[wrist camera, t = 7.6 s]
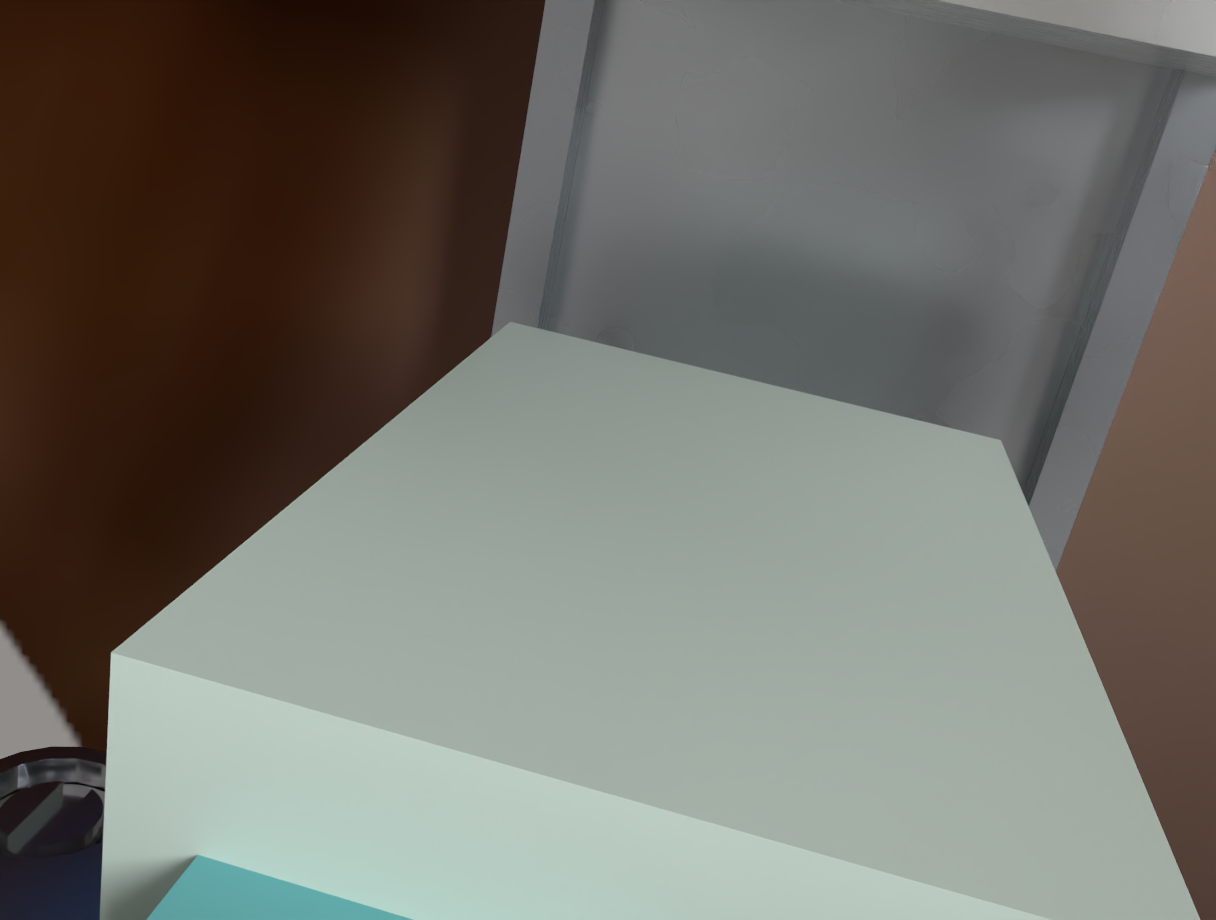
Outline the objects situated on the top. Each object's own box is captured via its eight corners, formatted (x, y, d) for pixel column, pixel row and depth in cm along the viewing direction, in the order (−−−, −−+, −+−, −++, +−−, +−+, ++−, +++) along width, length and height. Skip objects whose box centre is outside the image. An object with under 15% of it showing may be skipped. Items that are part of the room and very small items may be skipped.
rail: (1375, -397, 13) (1791, -757, 7) (812, 1143, 21) (794, 1536, 16) (662, -507, 14) (521, -901, 8) (403, 1010, 22) (249, 1336, 17)
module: (1001, 440, 11) (1271, 1087, 4) (816, 980, 14) (794, 1947, 7) (509, 321, 12) (25, 722, 5) (419, 862, 14) (15, 1647, 7)
